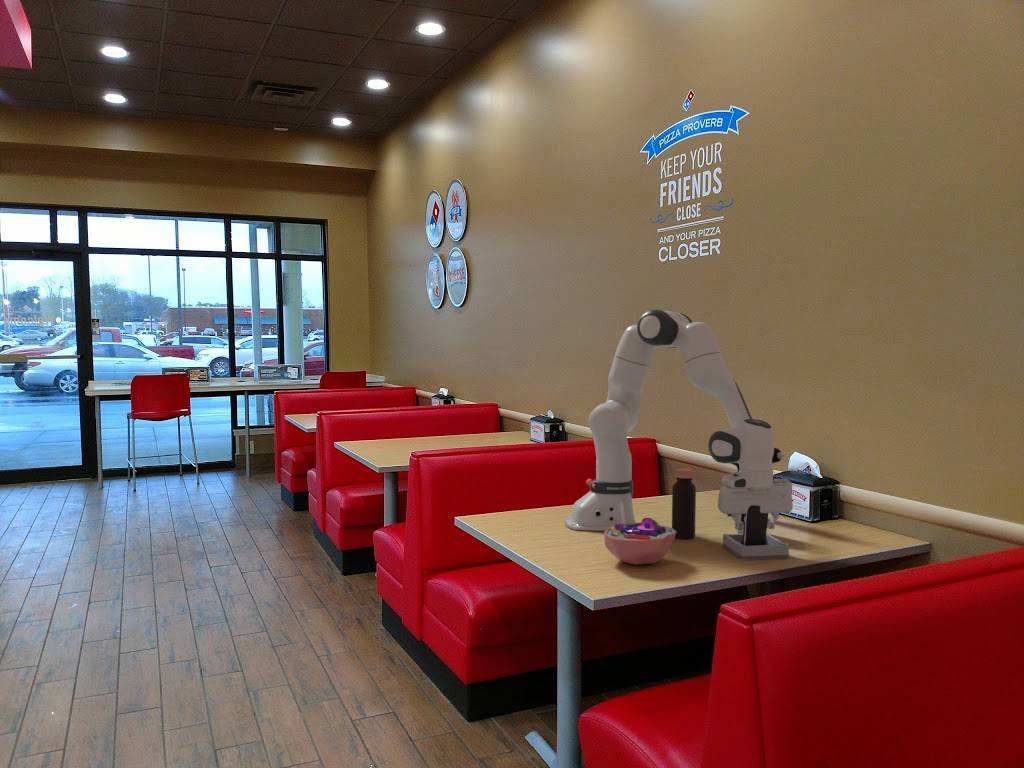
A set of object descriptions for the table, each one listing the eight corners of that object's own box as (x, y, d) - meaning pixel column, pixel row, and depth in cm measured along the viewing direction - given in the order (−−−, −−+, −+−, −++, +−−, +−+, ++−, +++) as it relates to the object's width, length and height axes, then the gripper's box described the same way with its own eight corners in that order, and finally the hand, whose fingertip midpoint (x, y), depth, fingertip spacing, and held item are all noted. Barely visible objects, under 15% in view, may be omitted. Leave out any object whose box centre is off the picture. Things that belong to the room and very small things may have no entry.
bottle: (682, 540, 218) (683, 472, 217) (666, 535, 224) (667, 468, 223) (700, 537, 221) (701, 470, 220) (684, 532, 227) (685, 467, 226)
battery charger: (757, 542, 209) (760, 501, 209) (766, 545, 206) (769, 504, 205) (736, 543, 207) (740, 502, 206) (745, 547, 203) (749, 505, 203)
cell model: (589, 559, 200) (589, 517, 200) (648, 548, 210) (648, 508, 209) (629, 576, 186) (629, 531, 185) (690, 564, 195) (690, 521, 195)
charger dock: (741, 560, 199) (742, 545, 199) (722, 546, 212) (722, 533, 212) (788, 558, 201) (789, 544, 200) (767, 545, 214) (767, 531, 213)
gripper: (786, 476, 210) (785, 525, 210) (716, 477, 207) (715, 526, 208) (797, 480, 203) (796, 530, 204) (725, 481, 201) (723, 532, 202)
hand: (754, 528), depth 206 cm, fingers open, 8 cm apart
